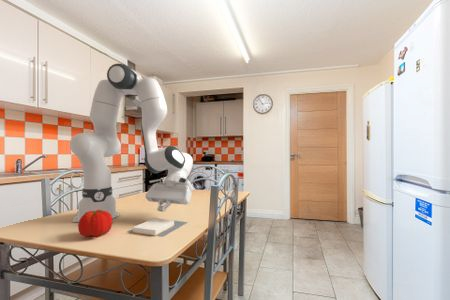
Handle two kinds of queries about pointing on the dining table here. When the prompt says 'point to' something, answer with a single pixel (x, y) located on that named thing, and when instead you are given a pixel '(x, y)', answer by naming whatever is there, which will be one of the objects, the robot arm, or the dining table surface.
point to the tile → (153, 227)
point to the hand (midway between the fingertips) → (160, 210)
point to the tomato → (95, 223)
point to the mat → (176, 226)
